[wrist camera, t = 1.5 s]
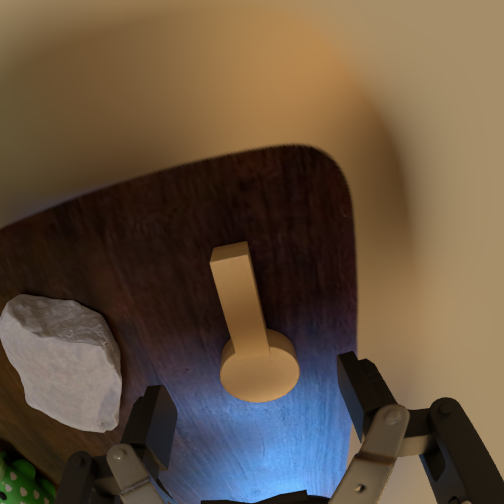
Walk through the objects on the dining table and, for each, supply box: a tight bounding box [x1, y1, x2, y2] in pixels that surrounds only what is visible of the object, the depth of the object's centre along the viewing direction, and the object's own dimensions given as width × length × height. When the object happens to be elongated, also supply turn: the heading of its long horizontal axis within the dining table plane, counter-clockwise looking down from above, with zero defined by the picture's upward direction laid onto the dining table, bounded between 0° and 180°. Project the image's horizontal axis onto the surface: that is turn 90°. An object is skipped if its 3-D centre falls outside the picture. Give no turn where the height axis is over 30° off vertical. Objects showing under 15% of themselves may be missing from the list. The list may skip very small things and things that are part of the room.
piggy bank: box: [0, 452, 56, 504], centre depth 22 cm, size 14×18×15 cm
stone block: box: [0, 294, 122, 433], centre depth 18 cm, size 12×5×10 cm
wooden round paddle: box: [210, 241, 300, 402], centre depth 18 cm, size 11×5×2 cm, turn 12°
